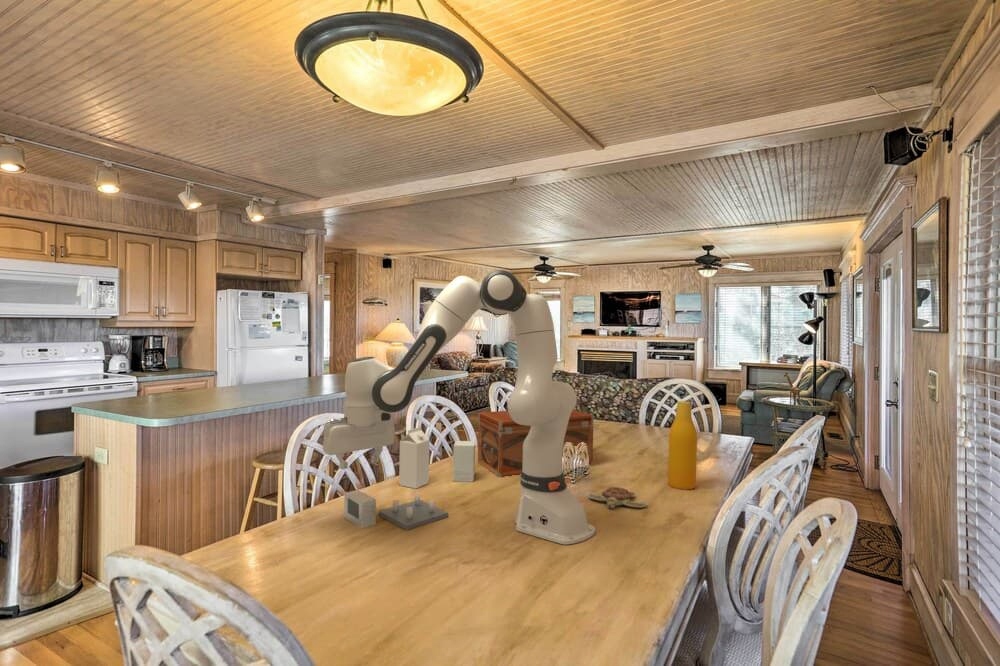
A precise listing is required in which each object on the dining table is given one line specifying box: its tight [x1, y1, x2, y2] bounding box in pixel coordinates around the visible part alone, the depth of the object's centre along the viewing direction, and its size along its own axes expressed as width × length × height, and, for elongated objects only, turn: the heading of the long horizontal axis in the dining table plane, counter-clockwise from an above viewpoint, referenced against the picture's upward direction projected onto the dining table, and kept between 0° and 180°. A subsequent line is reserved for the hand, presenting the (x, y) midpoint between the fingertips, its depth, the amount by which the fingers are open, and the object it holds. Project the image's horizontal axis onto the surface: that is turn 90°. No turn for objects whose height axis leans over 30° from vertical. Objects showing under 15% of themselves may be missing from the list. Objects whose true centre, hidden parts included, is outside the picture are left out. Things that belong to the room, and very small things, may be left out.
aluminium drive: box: [343, 489, 377, 529], centre depth 141 cm, size 10×4×7 cm, turn 44°
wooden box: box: [477, 409, 595, 478], centre depth 200 cm, size 20×41×20 cm, turn 115°
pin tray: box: [378, 493, 449, 531], centre depth 146 cm, size 14×14×4 cm
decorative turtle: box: [587, 486, 647, 509], centre depth 160 cm, size 18×17×5 cm
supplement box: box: [452, 440, 476, 483], centre depth 181 cm, size 7×7×13 cm
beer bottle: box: [667, 400, 698, 490], centre depth 177 cm, size 9×9×29 cm
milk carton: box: [398, 426, 430, 489], centre depth 173 cm, size 7×7×19 cm
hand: (359, 465), depth 141 cm, fingers open, 8 cm apart
